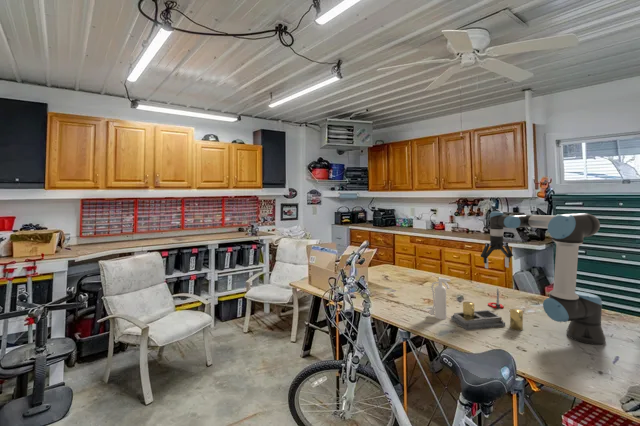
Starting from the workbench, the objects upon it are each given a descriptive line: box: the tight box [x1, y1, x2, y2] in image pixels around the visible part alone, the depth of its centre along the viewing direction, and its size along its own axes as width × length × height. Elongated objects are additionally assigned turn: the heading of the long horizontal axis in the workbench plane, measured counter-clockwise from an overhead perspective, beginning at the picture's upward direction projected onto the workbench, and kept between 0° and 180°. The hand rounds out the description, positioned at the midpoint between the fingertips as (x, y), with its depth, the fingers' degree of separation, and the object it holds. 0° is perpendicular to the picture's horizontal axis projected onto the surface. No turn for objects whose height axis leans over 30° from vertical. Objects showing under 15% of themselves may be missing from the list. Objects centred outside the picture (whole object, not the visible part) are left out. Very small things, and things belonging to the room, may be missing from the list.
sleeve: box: [509, 308, 524, 332], centre depth 171 cm, size 6×6×10 cm
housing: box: [450, 301, 506, 331], centre depth 180 cm, size 15×24×12 cm, turn 98°
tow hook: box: [487, 288, 505, 309], centre depth 205 cm, size 8×13×9 cm
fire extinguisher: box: [428, 276, 451, 320], centre depth 189 cm, size 7×12×25 cm, turn 62°
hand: (496, 267), depth 200 cm, fingers open, 13 cm apart
